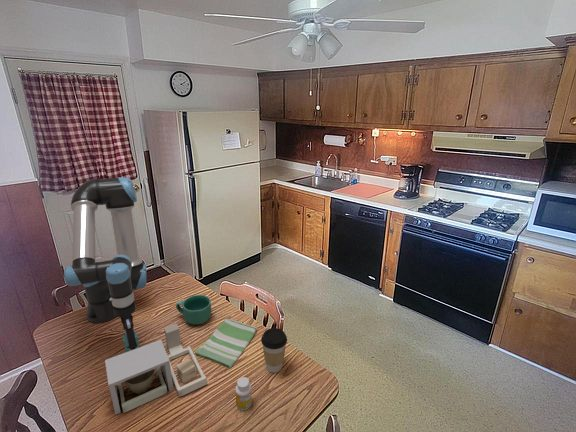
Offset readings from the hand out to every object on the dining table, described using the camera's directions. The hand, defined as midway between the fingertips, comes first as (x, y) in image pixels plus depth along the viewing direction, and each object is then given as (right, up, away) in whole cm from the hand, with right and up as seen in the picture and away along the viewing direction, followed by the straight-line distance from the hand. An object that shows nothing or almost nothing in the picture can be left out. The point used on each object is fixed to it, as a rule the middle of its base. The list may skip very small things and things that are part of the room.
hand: (132, 348), depth 126 cm
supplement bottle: (+48, -11, -18) cm, 52 cm away
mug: (+18, +4, +23) cm, 30 cm away
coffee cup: (+57, -6, -3) cm, 58 cm away
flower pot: (+10, -9, -13) cm, 19 cm away
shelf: (+10, -9, -14) cm, 19 cm away
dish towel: (+37, -2, +9) cm, 38 cm away
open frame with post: (+21, -5, -4) cm, 22 cm away
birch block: (+25, -7, -8) cm, 27 cm away
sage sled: (+7, -6, -8) cm, 12 cm away
